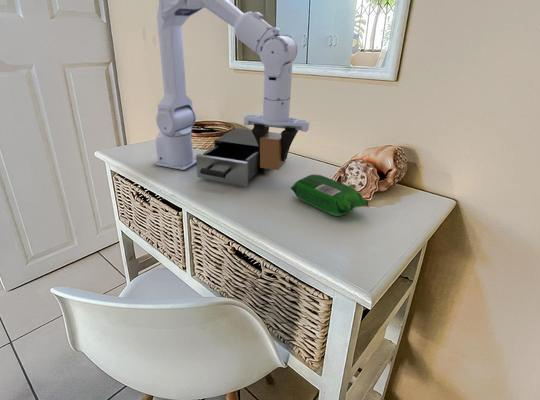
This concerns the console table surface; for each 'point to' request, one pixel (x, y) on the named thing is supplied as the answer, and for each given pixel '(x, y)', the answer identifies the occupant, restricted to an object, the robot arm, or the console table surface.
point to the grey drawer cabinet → (240, 141)
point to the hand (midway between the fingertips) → (273, 158)
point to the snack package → (328, 195)
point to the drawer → (229, 164)
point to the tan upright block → (271, 151)
